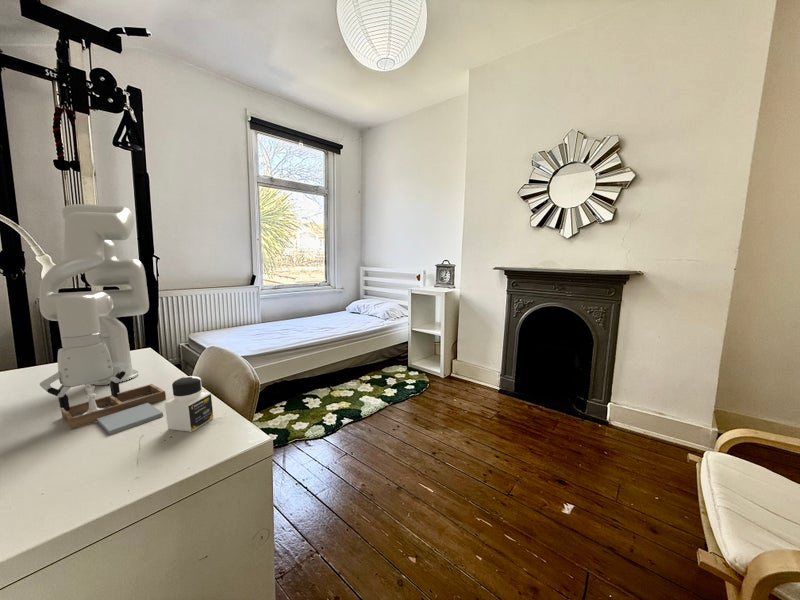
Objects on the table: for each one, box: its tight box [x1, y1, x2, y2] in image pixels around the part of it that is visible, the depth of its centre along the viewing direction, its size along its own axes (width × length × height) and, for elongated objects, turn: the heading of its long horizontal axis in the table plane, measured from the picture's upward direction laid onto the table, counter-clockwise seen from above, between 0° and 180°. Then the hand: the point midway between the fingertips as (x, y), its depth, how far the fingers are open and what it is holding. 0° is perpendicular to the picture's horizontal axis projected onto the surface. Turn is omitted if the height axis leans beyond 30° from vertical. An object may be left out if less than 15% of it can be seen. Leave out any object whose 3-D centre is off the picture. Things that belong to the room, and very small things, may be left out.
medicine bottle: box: [164, 375, 214, 433], centre depth 82 cm, size 7×7×12 cm
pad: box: [96, 403, 164, 436], centre depth 85 cm, size 11×11×1 cm
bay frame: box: [60, 383, 167, 430], centre depth 92 cm, size 11×20×2 cm, turn 145°
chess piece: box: [82, 382, 102, 415], centre depth 88 cm, size 5×5×10 cm
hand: (91, 402), depth 88 cm, fingers open, 9 cm apart
